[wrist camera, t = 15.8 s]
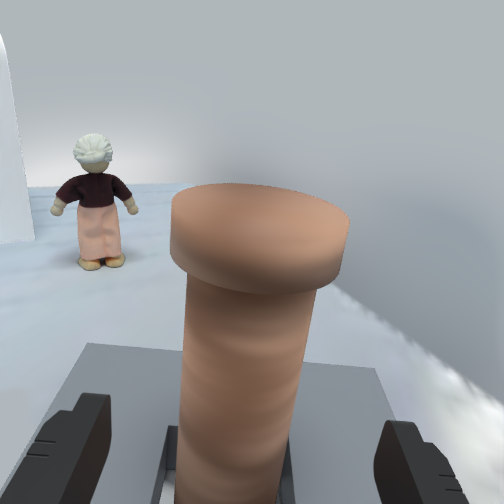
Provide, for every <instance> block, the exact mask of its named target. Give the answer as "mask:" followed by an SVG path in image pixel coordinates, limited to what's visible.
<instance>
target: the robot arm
mask: <svg viewBox="0 0 504 504" xmlns="http://www.w3.org/2000/svg"><path fill="white" fill-rule="evenodd" d="M111 438H112V421H111V397H110V395H109V394H97V393H86V392H83V393H82V394H81V395H80V397H79V399H78V401H77V403H76V405H75V406H74V408H73V410H72V411H67V410H59V411H58V412H57V413H56V414H54V415H53V416H52V417H51V418H50V419H49V420H47V421H46V422H45V423H44V424H43V426H42V428H41V429H40V431H39V433H38V434H37V436H36V438H35V440H34V443H32V445H31V446H30V448H29V450H28V451H27V453H26V457H24V458H23V460H22V462H21V463H20V465H19V467H18V468H17V470H16V472H15V474H14V475H13V477H12V479H11V480H10V482H9V484H8V485H7V487H6V489H5V491H4V492H3V494H2V496H1V497H0V504H90V503H91V500H92V497H93V495H94V492H95V489H96V487H97V484H98V481H99V479H100V476H101V473H102V471H103V468H104V465H105V463H106V460H107V457H108V454H109V450H110V445H111ZM373 472H374V479H375V483H376V486H377V490H378V493H379V497H380V500H381V503H382V504H469V502H468V500H467V498H466V496H465V494H463V492H462V488H461V486H460V484H459V482H458V480H457V479H456V478H455V474H454V472H453V470H452V468H451V466H450V464H449V462H448V460H447V458H446V457H445V456H444V455H443V454H442V453H441V452H440V450H439V449H438V448H437V447H436V446H435V445H434V444H433V443H428V442H424V441H423V439H422V437H421V435H420V433H419V430H418V428H417V426H416V425H415V423H413V422H406V421H394V420H387V421H386V422H385V423H384V426H383V430H382V433H381V436H380V440H379V443H378V446H377V450H376V453H375V456H374V462H373Z"/></svg>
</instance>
